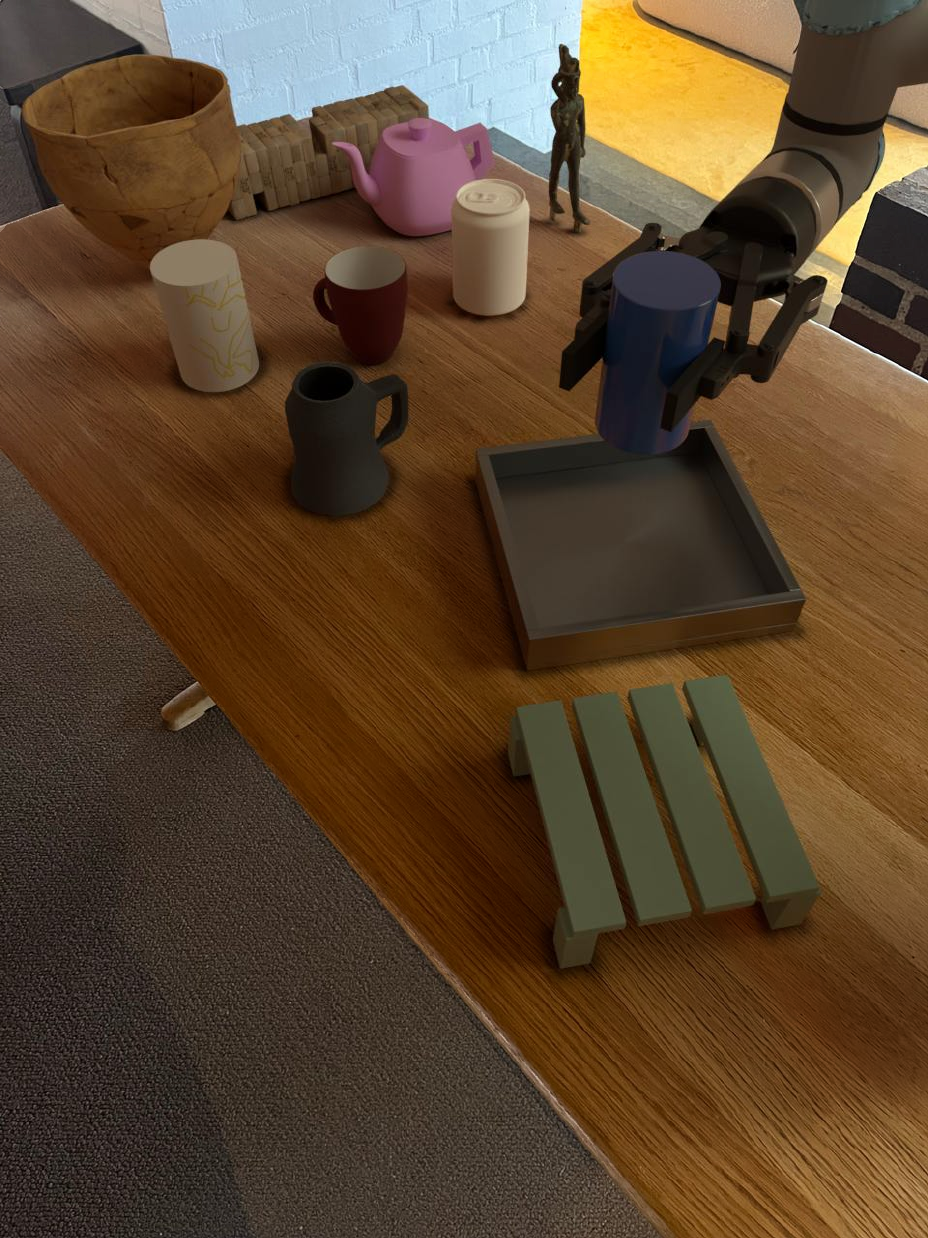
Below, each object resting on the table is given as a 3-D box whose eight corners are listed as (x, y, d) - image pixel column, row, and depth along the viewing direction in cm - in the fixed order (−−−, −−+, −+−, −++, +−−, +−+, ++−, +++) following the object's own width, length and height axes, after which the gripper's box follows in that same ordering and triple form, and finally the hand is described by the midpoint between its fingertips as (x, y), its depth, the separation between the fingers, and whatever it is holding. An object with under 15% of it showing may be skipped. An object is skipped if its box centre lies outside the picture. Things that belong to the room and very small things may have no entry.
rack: (800, 924, 62) (826, 886, 57) (559, 969, 60) (566, 933, 56) (716, 720, 72) (733, 673, 67) (507, 753, 70) (510, 707, 66)
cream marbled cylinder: (213, 402, 96) (185, 296, 87) (164, 369, 100) (132, 263, 90) (275, 365, 100) (254, 259, 91) (226, 335, 103) (201, 230, 94)
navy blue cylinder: (683, 462, 63) (716, 316, 55) (587, 447, 64) (605, 301, 56) (693, 402, 67) (725, 257, 59) (602, 389, 68) (621, 244, 60)
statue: (570, 246, 114) (585, 66, 99) (533, 226, 117) (542, 48, 102) (597, 232, 116) (616, 53, 101) (560, 213, 119) (572, 36, 104)
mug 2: (321, 530, 85) (304, 430, 76) (273, 473, 90) (251, 373, 81) (434, 476, 89) (429, 376, 80) (382, 425, 94) (373, 325, 85)
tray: (793, 631, 77) (806, 598, 74) (526, 671, 75) (529, 639, 72) (703, 452, 91) (711, 418, 88) (475, 481, 89) (475, 448, 86)
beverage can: (520, 323, 104) (524, 218, 95) (447, 316, 105) (444, 211, 96) (529, 282, 109) (535, 179, 100) (460, 276, 110) (458, 173, 101)
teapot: (325, 206, 121) (314, 115, 112) (470, 174, 126) (470, 84, 117) (361, 258, 113) (351, 164, 104) (514, 222, 118) (517, 129, 109)
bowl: (78, 330, 104) (8, 144, 89) (85, 235, 117) (26, 57, 101) (269, 307, 107) (235, 121, 91) (256, 216, 119) (224, 40, 104)
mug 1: (301, 363, 100) (286, 276, 92) (333, 321, 105) (321, 235, 97) (394, 383, 98) (387, 296, 90) (423, 339, 103) (418, 253, 95)
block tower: (225, 230, 119) (434, 167, 127) (209, 163, 112) (430, 101, 120) (205, 202, 123) (407, 143, 131) (187, 136, 117) (402, 78, 125)
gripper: (879, 314, 70) (750, 498, 58) (642, 237, 77) (483, 387, 65) (917, 215, 64) (782, 397, 52) (656, 141, 71) (484, 287, 59)
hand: (616, 391), depth 58 cm, fingers closed on navy blue cylinder, 6 cm apart
